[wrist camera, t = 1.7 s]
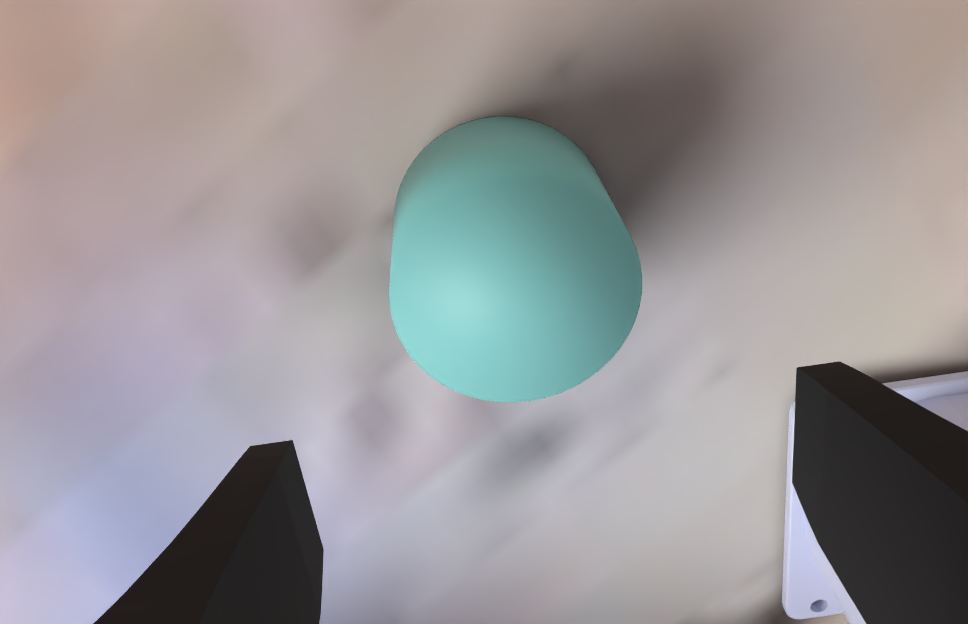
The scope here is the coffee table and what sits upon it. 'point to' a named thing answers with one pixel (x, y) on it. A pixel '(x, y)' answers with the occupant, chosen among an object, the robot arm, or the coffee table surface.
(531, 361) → the teal rounded piece
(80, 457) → the coffee table surface
